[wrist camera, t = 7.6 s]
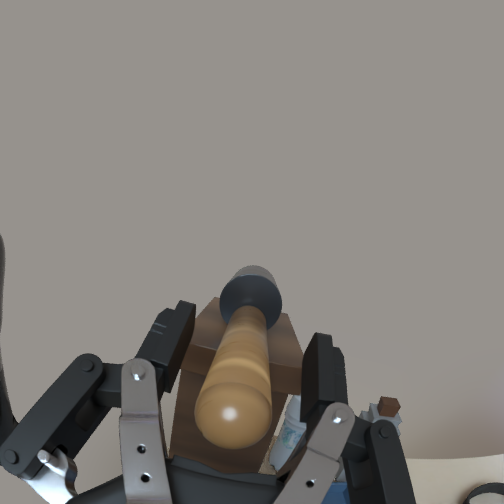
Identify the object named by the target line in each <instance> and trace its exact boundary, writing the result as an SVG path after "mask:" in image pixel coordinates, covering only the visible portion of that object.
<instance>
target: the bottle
mask: <svg viewBox="0 0 504 504" xmlns="http://www.w3.org/2000/svg"><path fill="white" fill-rule="evenodd" d="M300 402H301V394H300V396H298V395H293V397H292V399H291V400H290V402H289V404H288V406H287V410H286V412H285V420H284V423H283V425H282V428H281V430H280V433H279V435H278V438H277V440H276V442H275V444H274V446H273V447H272V450H271V452H270V457H269V462H270V464H271V465H274V466H275V469H276V470H280V468H281V467H282V466H283V465H284V464H285V462H286V461H287V459H288V458H289V456H290V454H291V453H292V451H293V450H294V448H295V446H296V445H297V443H298V441H299V440H300V438H301V436H302V434H303V433H304V431H305V430H306V423H301V422H299V421H300Z"/></svg>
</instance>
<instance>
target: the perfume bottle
mask: <svg viewBox="0 0 504 504" xmlns="http://www.w3.org/2000/svg"><path fill="white" fill-rule="evenodd" d="M399 409H400V405H399V402H398V400H397V399H396V398H389V397H382V396H381V398H380V401H379V404H373V403H370V406H369V412H366V411H361V414H360V416H359V418H361V419H364V420H367V421H369V422H372V423H374V422H376V421H377V420H380V419H385V420H388V421H390V422H392V423H393V424H394V426H395V427H396V430H397V433H398V436H400V431H399V429H398V425H399V424H400V423H401V422H402V420H401V418H400V416H399V413H398V411H399ZM339 462H340V467H339V470H338V472H337V474H336V481H340V482H346V476H345V471H344V466H343V460H342V457H341V456H340V457H339Z"/></svg>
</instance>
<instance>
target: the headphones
mask: <svg viewBox="0 0 504 504" xmlns="http://www.w3.org/2000/svg"><path fill="white" fill-rule="evenodd" d="M488 492H492V493H498V494H502V495H504V483H487V484H484V485H481V486H479V487H477V488H475V489H474V490H473V491H472V492H471V493H470V494H469V495H468V497H467V498H466V499H465V501H464V502H463V504H470V503H469V500H470V499H471V498H472V497H474V496H476V495H479V494H482V493H488Z"/></svg>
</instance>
